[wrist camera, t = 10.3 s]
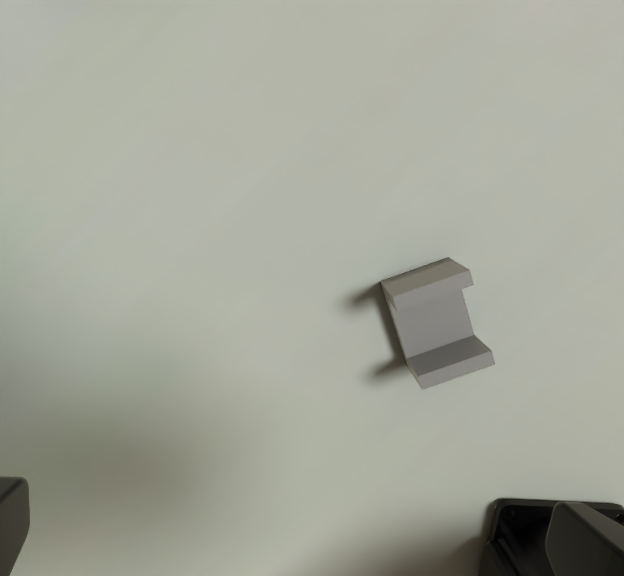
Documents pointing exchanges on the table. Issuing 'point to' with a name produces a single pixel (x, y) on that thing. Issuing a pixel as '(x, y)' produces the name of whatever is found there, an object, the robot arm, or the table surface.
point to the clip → (435, 322)
